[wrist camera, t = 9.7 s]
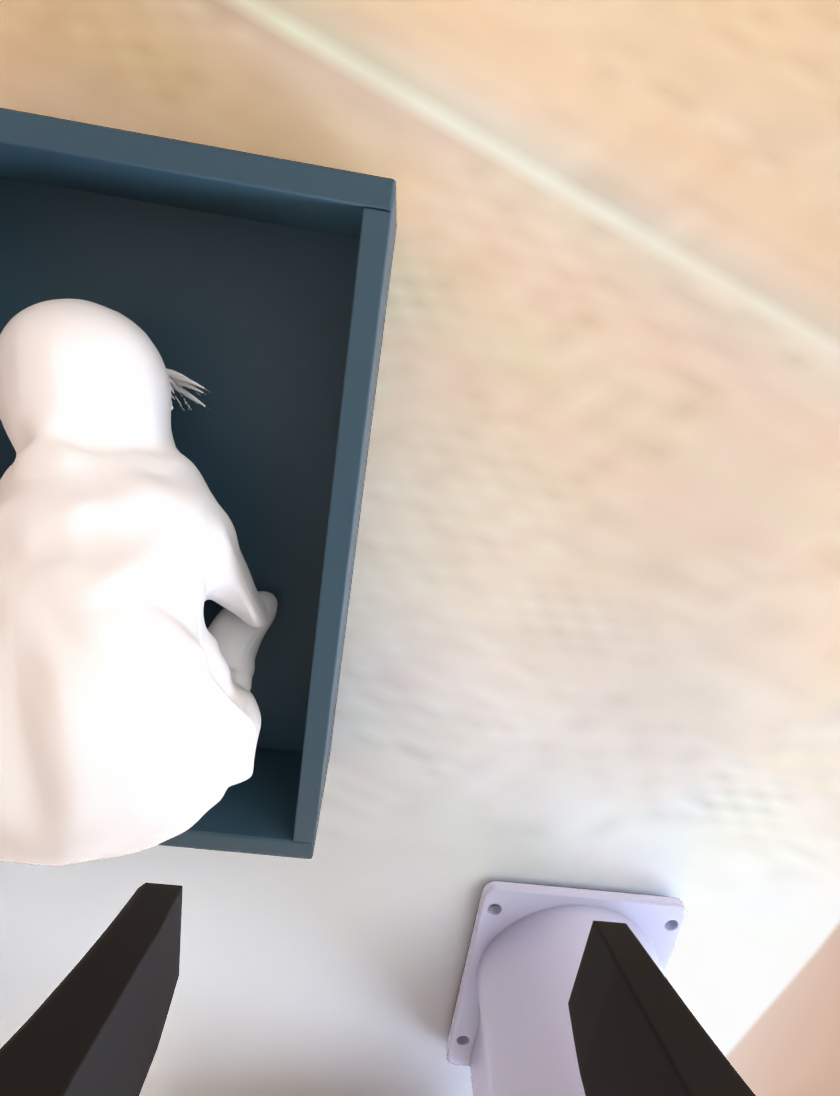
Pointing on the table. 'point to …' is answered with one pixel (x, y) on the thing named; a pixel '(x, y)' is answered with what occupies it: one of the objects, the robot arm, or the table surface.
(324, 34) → the table surface
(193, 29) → the table surface
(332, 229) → the bin
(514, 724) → the table surface
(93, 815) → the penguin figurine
